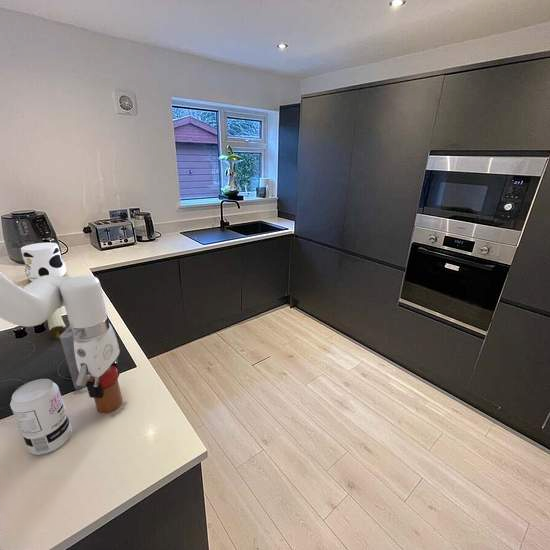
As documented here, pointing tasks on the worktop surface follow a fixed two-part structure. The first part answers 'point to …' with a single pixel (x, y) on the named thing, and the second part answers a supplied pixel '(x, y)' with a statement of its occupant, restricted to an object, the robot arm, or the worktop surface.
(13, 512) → the worktop surface
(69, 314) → the robot arm
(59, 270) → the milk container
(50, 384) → the supplement can
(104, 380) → the jam lid
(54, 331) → the rolling pin
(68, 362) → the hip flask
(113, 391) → the jam jar
